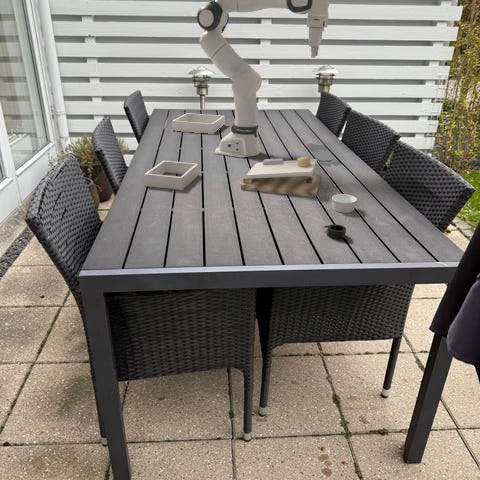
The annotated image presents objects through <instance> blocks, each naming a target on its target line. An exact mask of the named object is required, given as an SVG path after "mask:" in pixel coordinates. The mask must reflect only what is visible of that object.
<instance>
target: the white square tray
mask: <svg viewBox="0 0 480 480" xmlns="http://www.w3.org/2000/svg"><path fill="white" fill-rule="evenodd" d="M225 117H226V116H225V115H218V114H205V113H204V114H201V113H191V112H190V113H188V112H187V113H184V114H183V115H181V116H179V117H177V118H174V119H173V120H172V121H171V125H172V126H171V128H172V129H171V130H175V131H174V132H177V131H181V133H189V132H194V133H193V134H201V133H208V134H207V135H214V134H216V133H217V132H218V131H219V130H220V129H219V128H221V127H222V126H223V125H224V124H225V122H226V118H225ZM223 127H224V126H223ZM223 127H222V128H223ZM222 128H221V129H222ZM218 129H219V130H218ZM217 130H218V131H217ZM216 131H217V132H216ZM213 133H214V134H213Z"/></svg>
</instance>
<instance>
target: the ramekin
mask: <svg viewBox="0 0 480 480" xmlns="http://www.w3.org/2000/svg"><path fill="white" fill-rule="evenodd" d="M331 201H332V202H331V204H332V205H331V206H332V210H333V211H335V212H338V213H343V214H347V213H352V212H354V211H355V208H356V204H357V201H358V198H357V197H355V196H353V195H351V194H343V193H340V194H339V193H338V194H334V195H332V197H331Z"/></svg>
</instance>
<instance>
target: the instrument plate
mask: <svg viewBox="0 0 480 480" xmlns="http://www.w3.org/2000/svg"><path fill="white" fill-rule="evenodd" d="M317 163H318V161H317V158H313V159H312V158H311V156H310V157H309V156H300V157H298V158H297V159H295V160H284V159H283V158H282V157H281V158H280V157H279V158H267V159H263V160H262V162H255V164H254V165H253V166H252V167H253V168H252V167H251V168H252V169H251V168H250V170H249V171H248V172H249V173H248V172H247V173H248V174H247V173H246V175H247V179H251V178H270V177H289V176H308V175H314V174H313V173H314V171H315V168H316V166H317Z"/></svg>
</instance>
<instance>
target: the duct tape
mask: <svg viewBox="0 0 480 480" xmlns="http://www.w3.org/2000/svg"><path fill="white" fill-rule="evenodd" d="M322 229H324V230H326V237H328V238H329V239H332V240H339V241H340V240H344V239H346V240H350V239H351V238H350V237H349V236H347V235H346V234H347V228H346V226H344V225H341V224H337V223H335V224H330V225H324V226H323V227H322Z"/></svg>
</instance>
